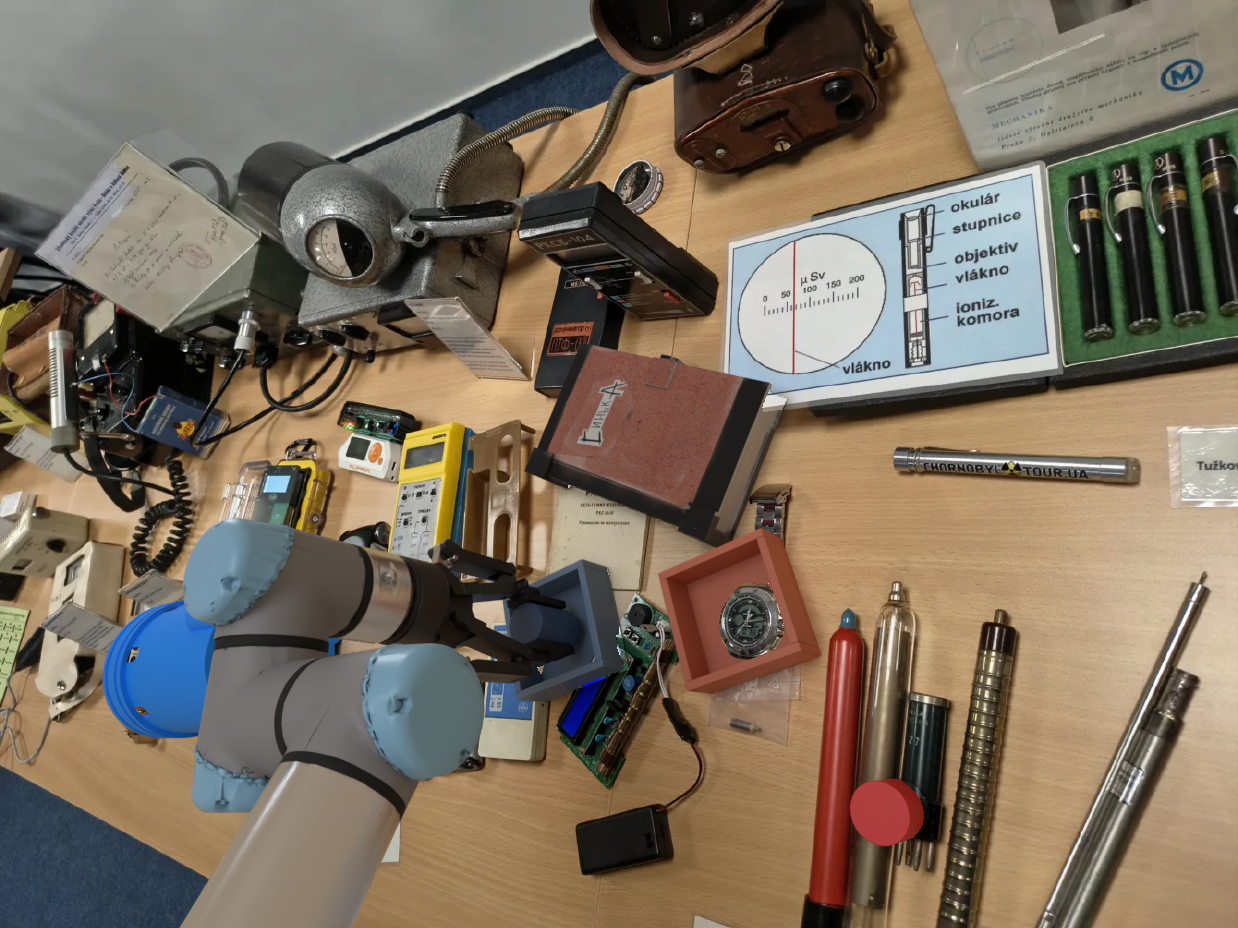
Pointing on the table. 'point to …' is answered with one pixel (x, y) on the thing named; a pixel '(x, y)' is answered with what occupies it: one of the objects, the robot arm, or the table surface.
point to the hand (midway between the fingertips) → (560, 630)
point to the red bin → (705, 590)
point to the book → (658, 439)
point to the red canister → (886, 812)
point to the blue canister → (543, 624)
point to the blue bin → (596, 632)
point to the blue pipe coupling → (162, 672)
